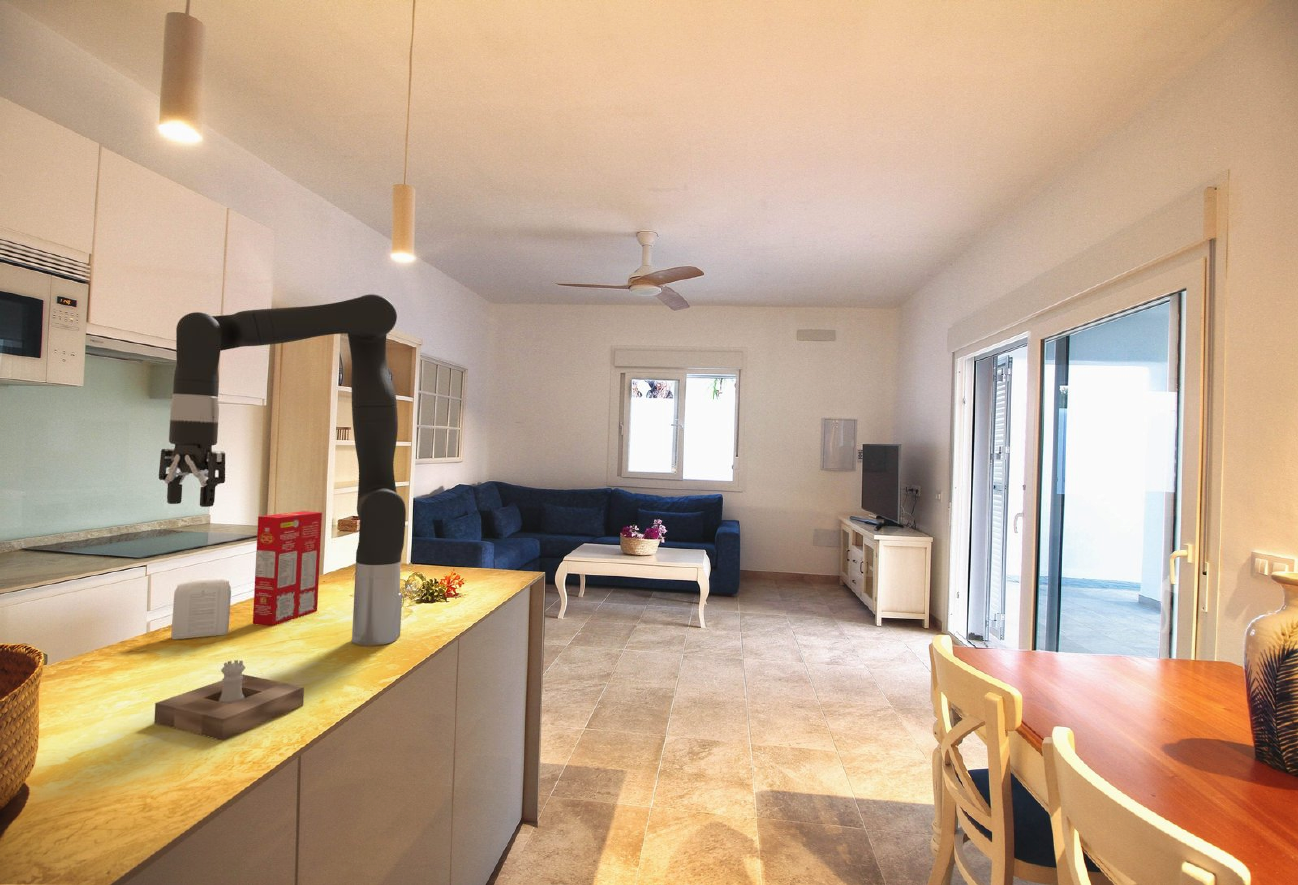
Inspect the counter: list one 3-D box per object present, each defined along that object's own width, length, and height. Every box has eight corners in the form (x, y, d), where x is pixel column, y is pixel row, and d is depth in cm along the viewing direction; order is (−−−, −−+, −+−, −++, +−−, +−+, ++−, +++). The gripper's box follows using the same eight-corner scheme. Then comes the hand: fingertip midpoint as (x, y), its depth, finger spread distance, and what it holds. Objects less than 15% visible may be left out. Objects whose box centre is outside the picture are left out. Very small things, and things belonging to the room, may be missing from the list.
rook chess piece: (224, 708, 104) (227, 657, 104) (253, 708, 104) (255, 658, 104) (207, 719, 99) (210, 667, 99) (237, 719, 100) (240, 667, 100)
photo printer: (228, 630, 144) (231, 575, 145) (229, 635, 141) (232, 578, 141) (171, 636, 139) (174, 578, 139) (170, 641, 135) (173, 582, 135)
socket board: (239, 691, 111) (240, 673, 111) (303, 705, 106) (304, 686, 106) (154, 723, 97) (155, 702, 97) (222, 740, 93) (223, 719, 93)
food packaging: (298, 609, 165) (303, 511, 165) (317, 611, 164) (322, 512, 164) (252, 624, 150) (258, 516, 150) (272, 626, 149) (277, 517, 149)
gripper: (240, 421, 124) (236, 506, 124) (187, 419, 128) (183, 501, 128) (202, 419, 117) (197, 509, 117) (147, 417, 121) (142, 504, 121)
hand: (190, 505), depth 122 cm, fingers open, 8 cm apart
